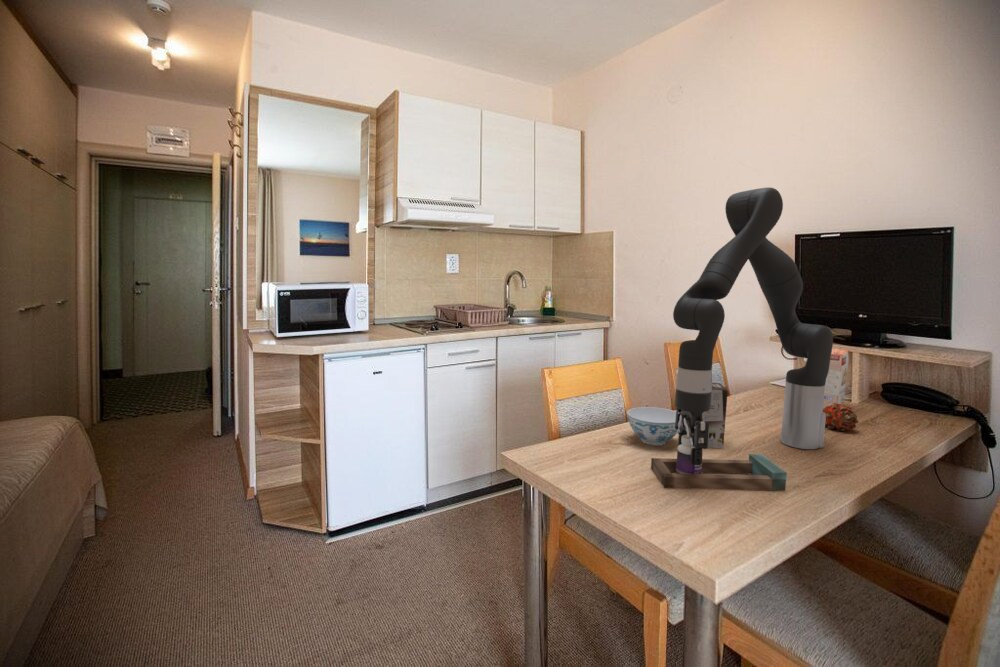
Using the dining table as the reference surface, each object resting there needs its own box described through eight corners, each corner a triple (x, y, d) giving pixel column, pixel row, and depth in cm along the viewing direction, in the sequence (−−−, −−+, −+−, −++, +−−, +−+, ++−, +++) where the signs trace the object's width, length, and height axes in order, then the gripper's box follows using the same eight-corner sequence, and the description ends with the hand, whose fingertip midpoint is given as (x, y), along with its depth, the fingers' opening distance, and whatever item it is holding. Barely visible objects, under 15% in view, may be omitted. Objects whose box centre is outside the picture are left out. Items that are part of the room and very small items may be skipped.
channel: (760, 470, 120) (761, 454, 120) (785, 490, 110) (786, 472, 109) (651, 468, 121) (651, 452, 121) (664, 487, 110) (665, 470, 110)
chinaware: (621, 432, 148) (622, 406, 147) (672, 433, 148) (674, 407, 147) (632, 450, 133) (634, 421, 132) (690, 451, 133) (691, 423, 132)
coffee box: (724, 449, 135) (728, 389, 133) (698, 447, 136) (702, 388, 134) (717, 438, 144) (720, 382, 142) (693, 436, 145) (696, 381, 143)
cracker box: (837, 416, 166) (844, 354, 163) (816, 413, 170) (822, 352, 167) (844, 408, 177) (850, 349, 174) (824, 405, 181) (830, 347, 178)
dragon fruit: (855, 440, 147) (817, 434, 159) (871, 421, 150) (831, 416, 161) (842, 419, 146) (804, 413, 157) (858, 399, 148) (819, 395, 159)
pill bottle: (698, 485, 112) (701, 442, 111) (673, 479, 115) (675, 438, 113) (703, 477, 116) (705, 436, 115) (678, 471, 119) (681, 432, 118)
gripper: (723, 396, 106) (718, 470, 108) (698, 381, 120) (694, 447, 122) (687, 395, 106) (682, 469, 108) (667, 380, 120) (663, 446, 122)
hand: (688, 457), depth 115 cm, fingers open, 8 cm apart
